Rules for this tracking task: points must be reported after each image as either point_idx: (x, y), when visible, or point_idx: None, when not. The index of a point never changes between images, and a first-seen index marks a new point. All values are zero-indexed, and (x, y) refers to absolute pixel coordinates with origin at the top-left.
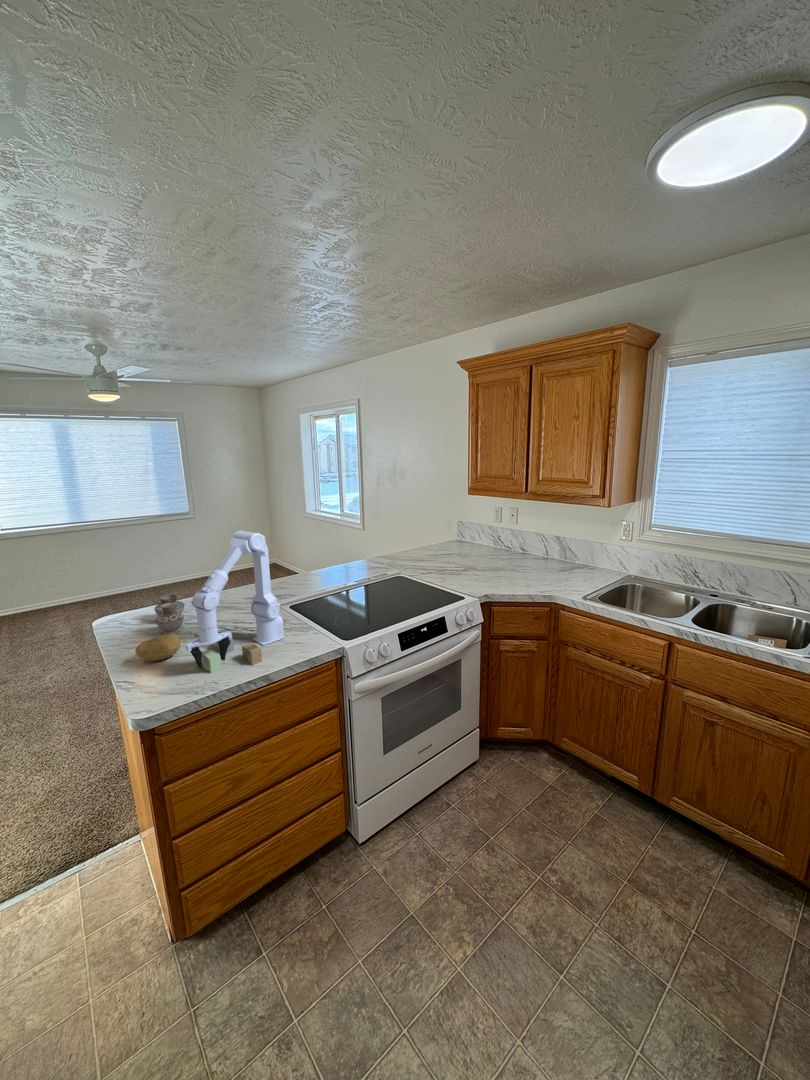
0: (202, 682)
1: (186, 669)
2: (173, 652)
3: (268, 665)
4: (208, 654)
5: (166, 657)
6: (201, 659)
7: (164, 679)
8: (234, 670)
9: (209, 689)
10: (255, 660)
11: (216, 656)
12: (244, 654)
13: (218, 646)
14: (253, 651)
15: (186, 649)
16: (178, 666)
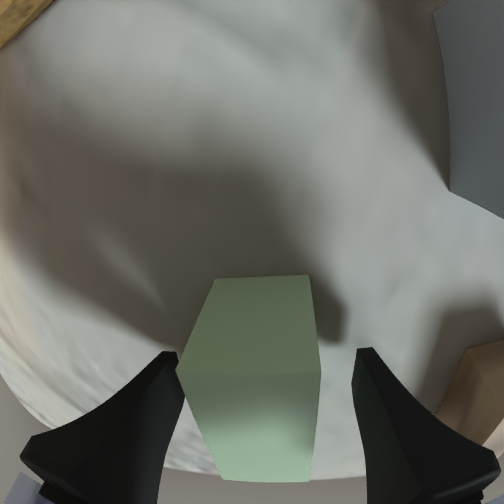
0: (178, 427)
1: (103, 252)
2: (21, 24)
3: None
4: (237, 439)
5: (14, 36)
6: (164, 458)
7: (18, 282)
8: (348, 430)
9: (196, 463)
10: None
11: (281, 477)
12: (470, 395)
13: (461, 63)
14: None
15: (25, 486)
16: (64, 163)
